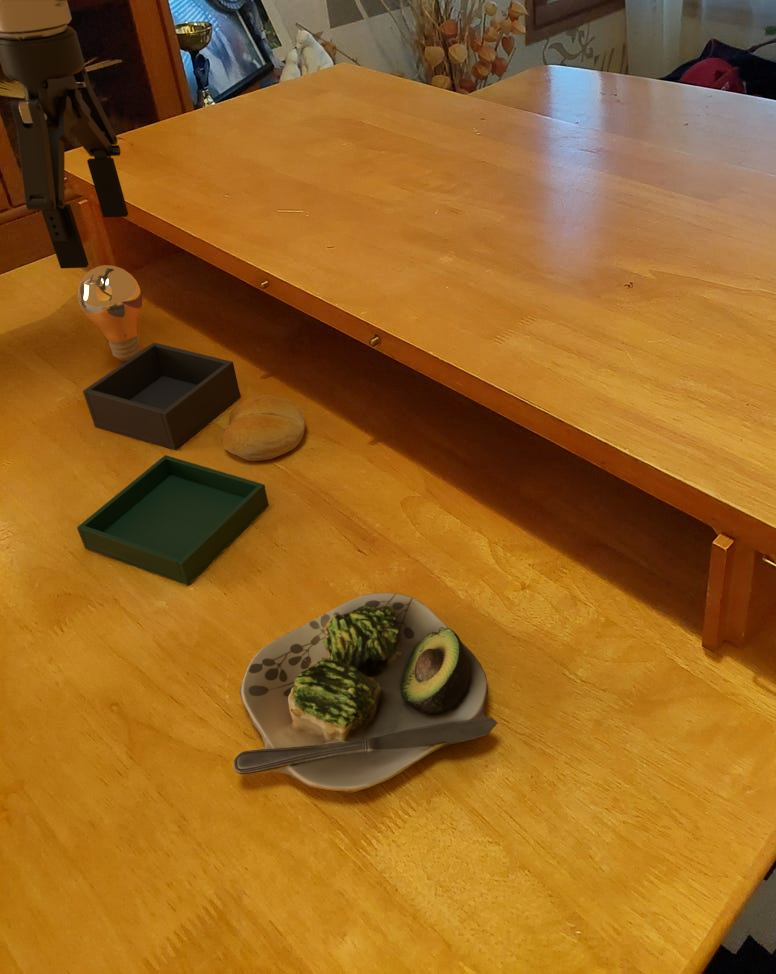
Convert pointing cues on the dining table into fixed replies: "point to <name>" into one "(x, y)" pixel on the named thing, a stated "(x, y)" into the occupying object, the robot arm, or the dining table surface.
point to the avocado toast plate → (362, 694)
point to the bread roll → (264, 428)
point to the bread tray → (174, 518)
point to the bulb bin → (163, 395)
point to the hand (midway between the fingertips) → (96, 240)
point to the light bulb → (113, 307)
